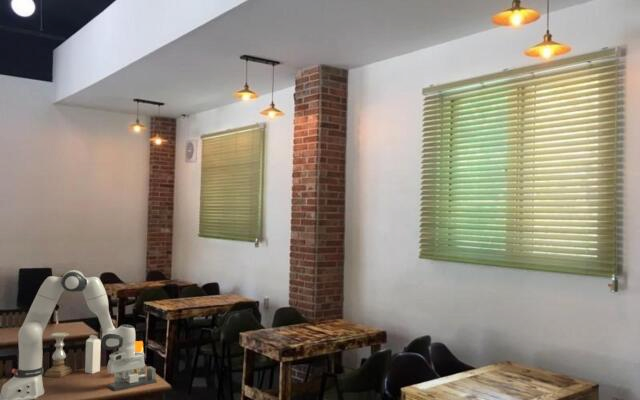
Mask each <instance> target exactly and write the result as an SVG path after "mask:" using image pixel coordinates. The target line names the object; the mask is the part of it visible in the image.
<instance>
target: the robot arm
mask: <svg viewBox="0 0 640 400" xmlns="http://www.w3.org/2000/svg"><path fill="white" fill-rule="evenodd" d="M64 291H67V292H71V293H75V292H76V293H77V292H82V294H83V297H84V300H85V302H86V305H87V307H88V309H89V310H90V311H91V312H92V313H93V314H95V315H96V316H97V317H96V318H97V319H98V322H99V325H100V326H101V331H102V332H101V339H100V340H101V347H102V348H103V349H104V350H107V351H111V350H116V349H118V350H116V351H115V352H113V353H111V354H109V360H108V363H107V366H106V371H107V373H108V374H109V375H111V374H113V375H114V373H118V372H121V373H122V375H123V379H128V378H129V375H130V373H131V370H135V369H141V368H144V366H145V365H146V364H145V353H144V351H143V352H135V341H136V328H135V327H134V326H133V325H131V324H121V325H120V326H119V327H116V326H115V325H114V323H113V320H112V318H111V317H112V316H111V315H110V311H109V299H108V295H107V292H106V288H105V286H104V285H103V282H102V281H101V278H99V277H98V276H90V277H85V274H84V273H83V271H81V270H80V269H77V268H72V269H69V270H67V271H66V272H65V273H63V274H62V275H61V276H56V275H52V276H51V275H50V276H47V278H46V279H44V281H43V282H42V284H41V285H40V287H39V289H38V291H37V293H36V295H35V297H34V299H33V302H32V303H31V306H30V308H29V310H28V312H27V315H26V316H25V319H24V321H23V323H22V325H21V327H20V329H19V330H18V341H17V342H18V368H17V369H16V368H12V370H11V373H12V374H13V376H12V378H10V379H9V380H8V381H6V382H5V383H3V385H2V387H1V389H0V400H35V399H38V398H39V397H41V396H42V395H44V394H45V388H44V383H43V382H44V381H43V376H44V365H43V356H44V355H43V335H44V331H45V329H46V328H47V326H48V323H49V321H50V318H51V317H52V314H53V312H54V310H55V309H56V305H57V303H58V302H59V299H60V298H61V295H62V293H63V292H64ZM125 371H127V372H128V373H127V375H125V374H124V373H125Z"/></svg>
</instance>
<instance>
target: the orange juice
mask: <svg viewBox="0 0 640 400" xmlns="http://www.w3.org/2000/svg"><path fill="white" fill-rule="evenodd" d="M135 352H143V353H144V342H143V340H139V341H138V340H135Z"/></svg>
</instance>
